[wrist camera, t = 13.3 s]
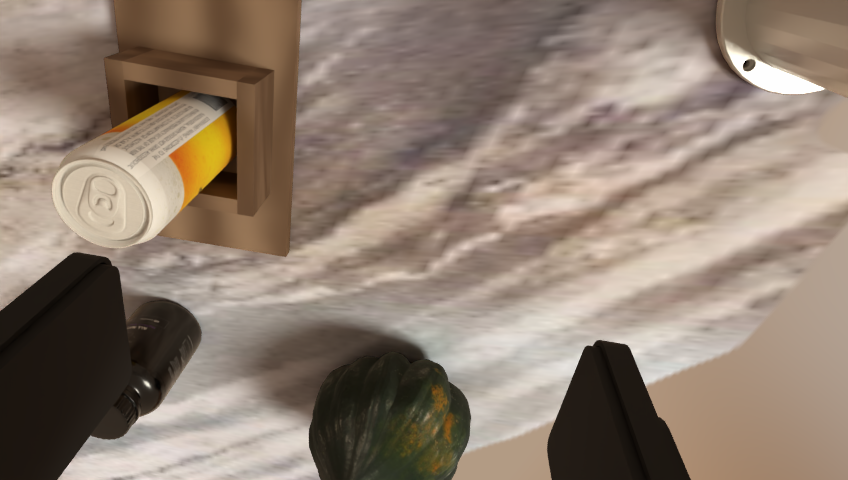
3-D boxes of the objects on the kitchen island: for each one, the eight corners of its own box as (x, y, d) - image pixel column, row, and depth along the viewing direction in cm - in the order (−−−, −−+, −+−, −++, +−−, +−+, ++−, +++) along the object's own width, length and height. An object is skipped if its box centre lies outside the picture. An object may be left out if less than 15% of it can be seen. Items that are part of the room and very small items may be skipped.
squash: (509, 464, 53) (450, 515, 40) (383, 505, 58) (293, 563, 45) (456, 327, 57) (387, 331, 44) (343, 377, 62) (250, 393, 49)
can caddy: (302, -16, 38) (280, -9, 33) (289, 251, 49) (270, 285, 44) (116, -50, 38) (66, -48, 33) (144, 226, 48) (109, 258, 44)
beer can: (164, 142, 43) (39, 230, 30) (179, 70, 41) (47, 133, 27) (238, 171, 44) (148, 269, 31) (257, 103, 41) (166, 179, 28)
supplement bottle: (156, 285, 52) (79, 373, 41) (216, 326, 54) (158, 421, 43) (121, 325, 54) (41, 418, 44) (180, 363, 56) (117, 461, 46)
